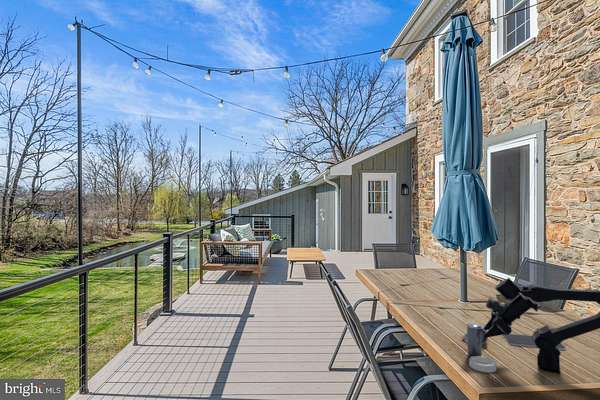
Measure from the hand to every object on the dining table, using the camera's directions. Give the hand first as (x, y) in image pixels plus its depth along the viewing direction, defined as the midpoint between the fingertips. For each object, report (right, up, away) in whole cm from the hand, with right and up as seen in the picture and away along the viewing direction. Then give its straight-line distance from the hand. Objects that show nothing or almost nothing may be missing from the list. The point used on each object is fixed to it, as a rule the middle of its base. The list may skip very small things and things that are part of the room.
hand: (484, 332), depth 143 cm
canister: (-3, -11, +1) cm, 11 cm away
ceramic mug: (+6, -11, +19) cm, 23 cm away
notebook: (+31, -12, +17) cm, 38 cm away
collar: (-5, -10, -7) cm, 14 cm away
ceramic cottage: (+69, -13, +84) cm, 110 cm away
